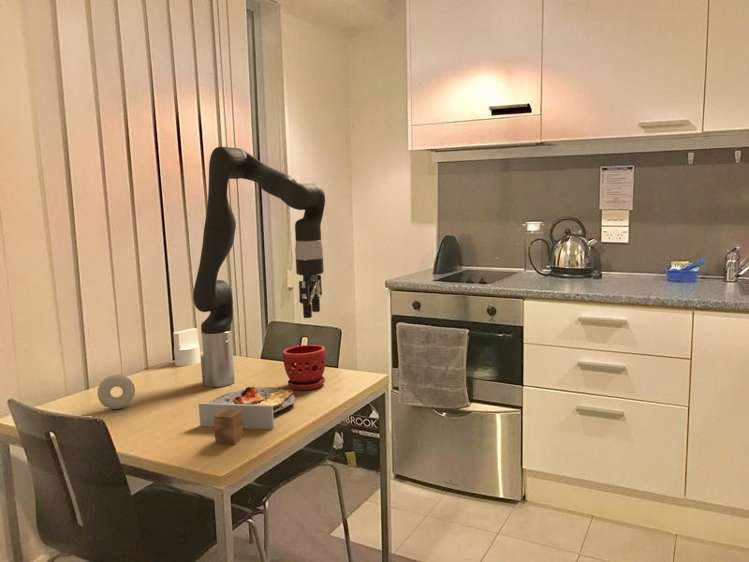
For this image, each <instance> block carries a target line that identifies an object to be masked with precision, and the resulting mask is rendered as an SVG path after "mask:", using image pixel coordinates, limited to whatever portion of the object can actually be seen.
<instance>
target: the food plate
mask: <svg viewBox="0 0 749 562" xmlns="http://www.w3.org/2000/svg"><path fill="white" fill-rule="evenodd" d="M227 402H228V403H227ZM232 402H234V404H251V405H255V404H257V403H260V404H258V405H273V414H274V413H277V412H279V411H282V410H284V409H285V408H288V407H289V406H291V405H293V404H294V403H296V402H297V398H296V396H295V393H293V390H292V389H283V388H279V387H255V386H254V385H253V386H252V387H251V386H249V387H248V386H247V387H246V388H245V389H239V390H236V391H230V392H228V393H226V394H223V395H221V396H218V397H216V398H214V399H211V400H209V401H208V402H207V403H224V404H229V403H232Z"/></svg>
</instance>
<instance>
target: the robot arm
mask: <svg viewBox="0 0 749 562" xmlns="http://www.w3.org/2000/svg"><path fill="white" fill-rule="evenodd" d="M240 179H241V180H242V179H243V180H248V181H251V182H254V183H255V184H257V185H258V186H259V188H260V189H261V190H262V191H264V192H266V193H267V194H270V195H271V196H274V197H276V198H278V199H280V200H281V201H282V202H283V203H284V204H286V205H287V206H288V207H290V208H291V209H294V210H297V211H304V212H303V213H304V214H303V216H302V218H300V219H297V221H295V223H294V232H295V235H294V236H295V245H294V246H295V247H294V248H295V249H294V254H295V271H296V275H298V276H302V280H299V282H298V292H299V293H298V295H299V299H298V300H299V304H301V305H302V311H303V313H302V314H303V318H304V319H311V318H312V317H313V313H320V312H321V304H320V303H321V301H320V300H321V298H322V297H321V296H322V295H323V292H322V291H323V290H322V274H323V273H324V271H325V270H324V255H323V253H324V252H323V244H322V228H321V224H322V220H323V216H324V211H325V206H326V205H325V204H326V195H325V191H324V190H323V188H322V186H321V185H319V184H316V183H300V182H299V183H298V182H297V180H296V179H295V178H294V177H293V176H291V175H290V174H287V173H285V172H282V171H279V170H278V169H276V168H273V167H270V166H268V165H267V164H265V163H263V162H261V161H260V160H258V159H257V158H255V157H254V156H253V155H251V153H249V152H247V151H246V150H244V149H242V148H239V147H230V146H229V147H228V146H217V147H215V148H214V149H213V150H212V152H211V154H210V158H209V163H208V190H207V191H208V192H207V193H208V194H207V206H206V213H205V221H204V227H203V234H202V235H203V236H202V246H201V253H200V258H199V265H198V268H197V269H198V270H197V274H196V279H195V282H194V283H195V284H194V287H193V293H192V295H193V298H192V299H193V304H194V306H195V308H196V309H197V310H198V311H199V312H202V313H208V312H210V313H209V315H208V316H207V318H206V319H205V320H203V321H202V323H201V325H200V332H201V333H200V334H201V343H202V344H201V345H202V354H201V355H200V360H201V362H200V367H201V379H202V380H201V381H202V385H203V386H205V387H210V388H220V387H221V388H222V387H226V386H227V387H228V386H230V385H233V384H234V383H235V381H236V380H235V369H234V368H235V366H234V365H235V364H234V353H233V338H232V322H233V320H234V319H233V318H234V317H233V315H234V314H233V312H234V311H233V308H234V307H233V306H234V305H233V302H234V301H233V299H234V298H233V292H232V289H231V286H230V284H229V283H228V282H227V281H226V280H222V279H218V274H219V272H220V269H221V268H222V265H223V263H224V261H225V260H226V259H227V257H228V256H229V254H230V252H231V250H232V247H233V246H234V245H233V244H234V242H235V235H236V228H237V227H236V226H237V220H236V217H235V214H234V211H233V209H232V207H231V204H230V202H229V199H228V186H229V180H240Z"/></svg>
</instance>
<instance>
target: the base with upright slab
mask: <svg viewBox="0 0 749 562" xmlns="http://www.w3.org/2000/svg"><path fill="white" fill-rule="evenodd" d="M172 335H173V346H174V347H173V352H174V353H173V354H174V364H175V366H178V367H188V366H189V367H190V366H195V365H198V364H201V350H200V348H201V347H200V344H199V330H198V328H195V327H193V328H188V329H183V330H179V331H174V332H173V333H172Z"/></svg>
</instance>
